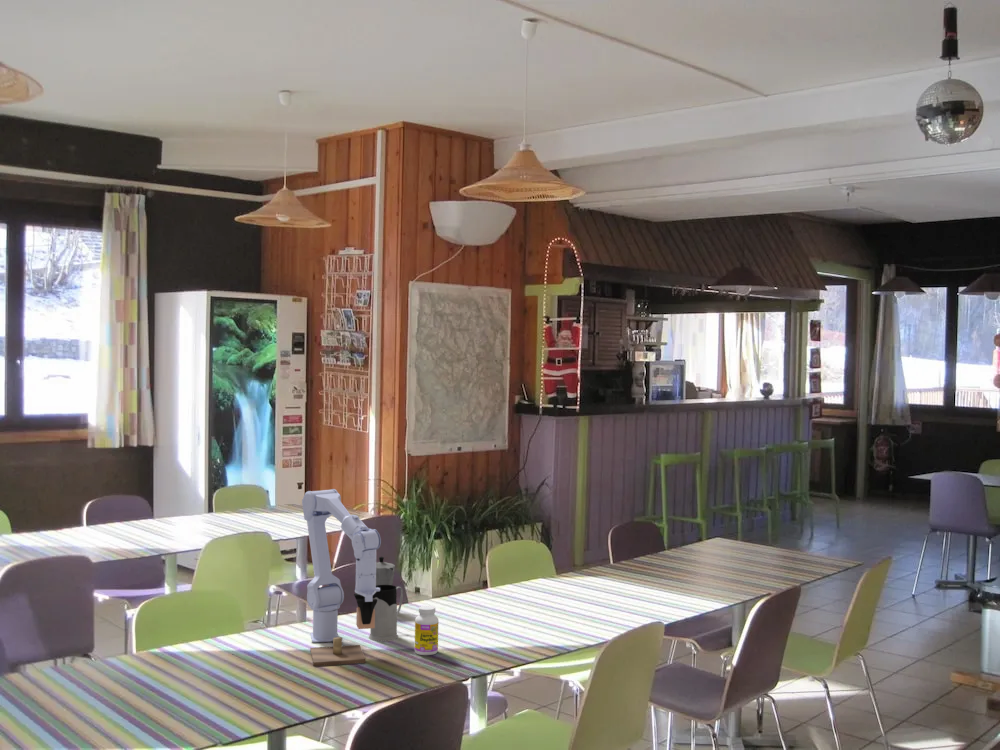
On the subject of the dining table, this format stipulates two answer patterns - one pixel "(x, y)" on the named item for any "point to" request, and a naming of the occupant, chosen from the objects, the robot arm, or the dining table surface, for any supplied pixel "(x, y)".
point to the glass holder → (386, 613)
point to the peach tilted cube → (359, 620)
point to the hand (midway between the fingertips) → (365, 621)
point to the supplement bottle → (426, 631)
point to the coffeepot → (384, 572)
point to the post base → (337, 654)
